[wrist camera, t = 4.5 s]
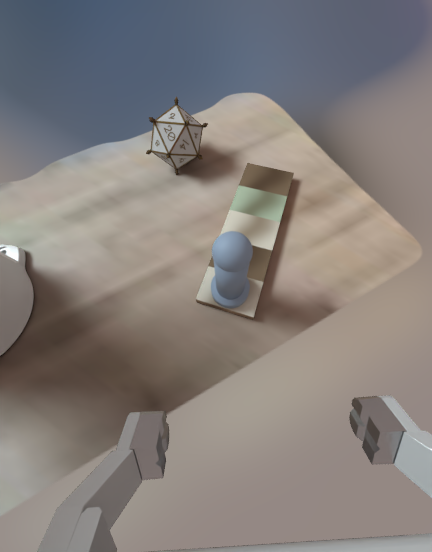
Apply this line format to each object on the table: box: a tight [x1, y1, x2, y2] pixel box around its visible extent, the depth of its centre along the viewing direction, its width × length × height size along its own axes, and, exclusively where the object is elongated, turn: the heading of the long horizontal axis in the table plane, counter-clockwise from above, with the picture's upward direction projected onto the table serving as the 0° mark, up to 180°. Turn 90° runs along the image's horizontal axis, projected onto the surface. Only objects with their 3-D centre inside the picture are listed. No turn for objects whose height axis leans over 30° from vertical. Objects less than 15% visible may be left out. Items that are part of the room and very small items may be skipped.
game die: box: [146, 97, 208, 175], centre depth 36 cm, size 9×8×10 cm
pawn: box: [211, 231, 253, 308], centre depth 24 cm, size 4×4×11 cm
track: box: [196, 163, 294, 320], centre depth 33 cm, size 7×22×1 cm, turn 161°
